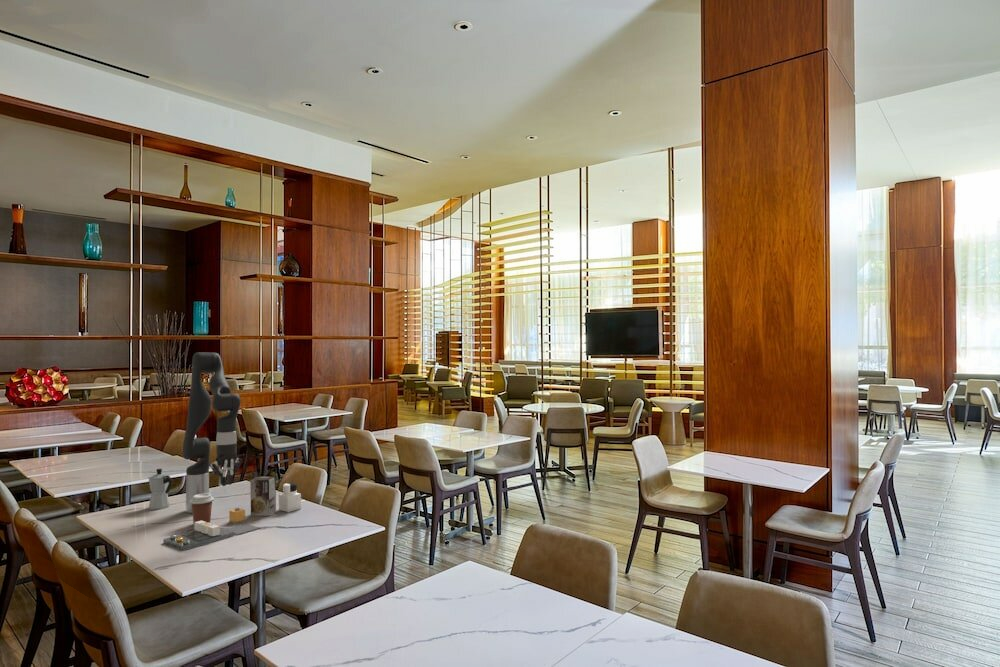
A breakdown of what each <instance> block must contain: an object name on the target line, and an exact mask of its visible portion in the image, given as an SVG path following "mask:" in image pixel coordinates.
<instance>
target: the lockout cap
mask: <svg viewBox="0 0 1000 667" xmlns="http://www.w3.org/2000/svg"><path fill="white" fill-rule="evenodd" d="M228 514H229V515H228V517H229V518H228V519H229V520H228V522H229V523H231V524H234V525H236V524H237V525H238V524H240V523H243V522H246V509H243V508H240V507H235V508H234V509H230V510H229V513H228Z"/></svg>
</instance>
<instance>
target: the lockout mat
mask: <svg viewBox="0 0 1000 667" xmlns="http://www.w3.org/2000/svg"><path fill="white" fill-rule="evenodd" d="M226 529H227V530H230V531H233V532H234V536H239V535H243V534H246V533H250V532H252V531H253V532H254V531H256V530H260V529H261V527H260V526H256V525H253V524H249V523H247V522H246V523H243V524H239V525H235V526H232V527H228V528H226Z"/></svg>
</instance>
